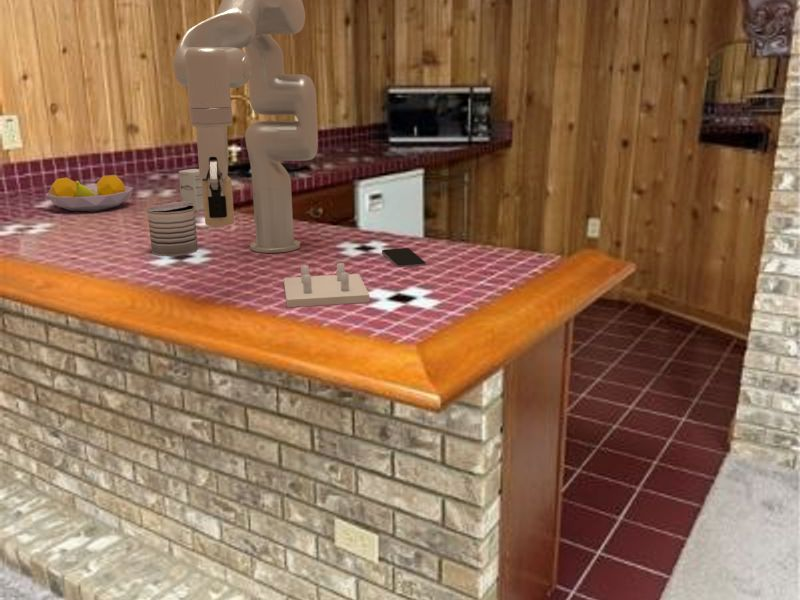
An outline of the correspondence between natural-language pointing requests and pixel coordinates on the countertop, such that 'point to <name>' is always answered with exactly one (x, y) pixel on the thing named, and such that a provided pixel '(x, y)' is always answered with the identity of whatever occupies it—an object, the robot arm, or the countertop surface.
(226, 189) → the candle
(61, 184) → the fruit bowl
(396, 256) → the smartphone
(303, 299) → the plate
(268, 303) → the countertop surface
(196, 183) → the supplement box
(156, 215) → the can
